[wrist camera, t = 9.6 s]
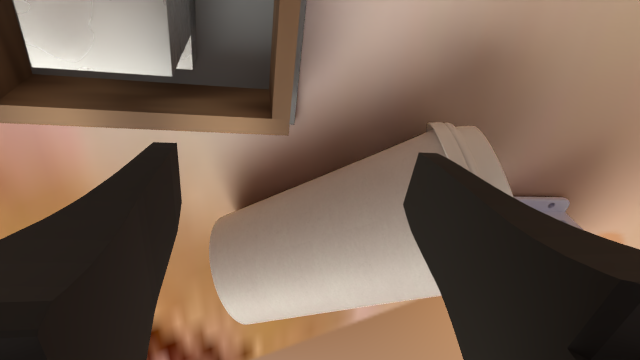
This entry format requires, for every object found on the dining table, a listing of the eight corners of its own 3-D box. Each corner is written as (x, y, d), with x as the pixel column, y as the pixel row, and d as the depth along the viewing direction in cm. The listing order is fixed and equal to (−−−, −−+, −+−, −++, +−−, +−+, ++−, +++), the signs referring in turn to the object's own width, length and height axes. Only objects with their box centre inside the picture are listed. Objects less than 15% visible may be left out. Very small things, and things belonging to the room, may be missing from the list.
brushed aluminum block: (91, -50, 16) (5, -26, 11) (193, -38, 17) (165, -9, 11) (107, 48, 18) (44, 113, 13) (197, 55, 19) (175, 119, 14)
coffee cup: (253, 393, 21) (549, 331, 18) (166, 248, 18) (513, 144, 15) (280, 280, 30) (483, 226, 27) (226, 168, 26) (451, 92, 24)
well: (297, -73, 17) (307, -69, 14) (283, 104, 21) (288, 135, 18) (-48, -124, 14) (-120, -131, 12) (18, 89, 19) (-23, 122, 16)
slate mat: (315, -104, 17) (316, -104, 16) (293, 121, 22) (294, 124, 22) (-76, -167, 14) (-84, -169, 14) (13, 107, 20) (8, 110, 19)
